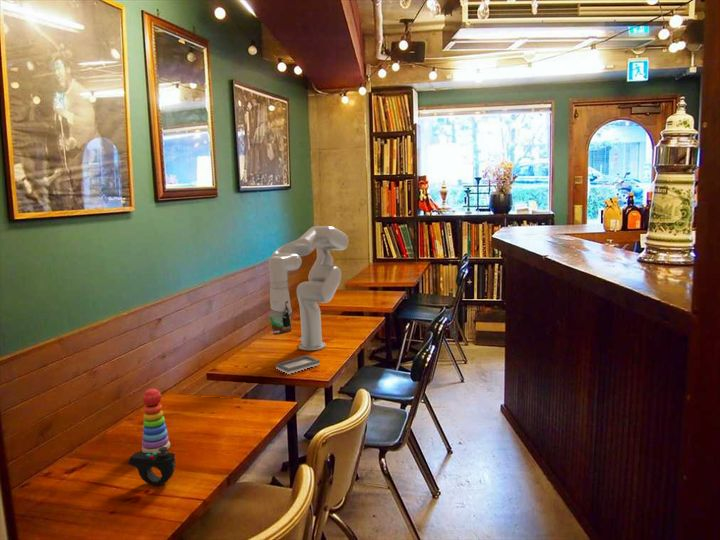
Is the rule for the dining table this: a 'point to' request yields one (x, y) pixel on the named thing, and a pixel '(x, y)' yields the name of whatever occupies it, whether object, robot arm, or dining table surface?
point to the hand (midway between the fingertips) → (282, 324)
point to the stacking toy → (153, 423)
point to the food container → (278, 323)
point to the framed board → (297, 364)
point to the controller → (154, 465)
